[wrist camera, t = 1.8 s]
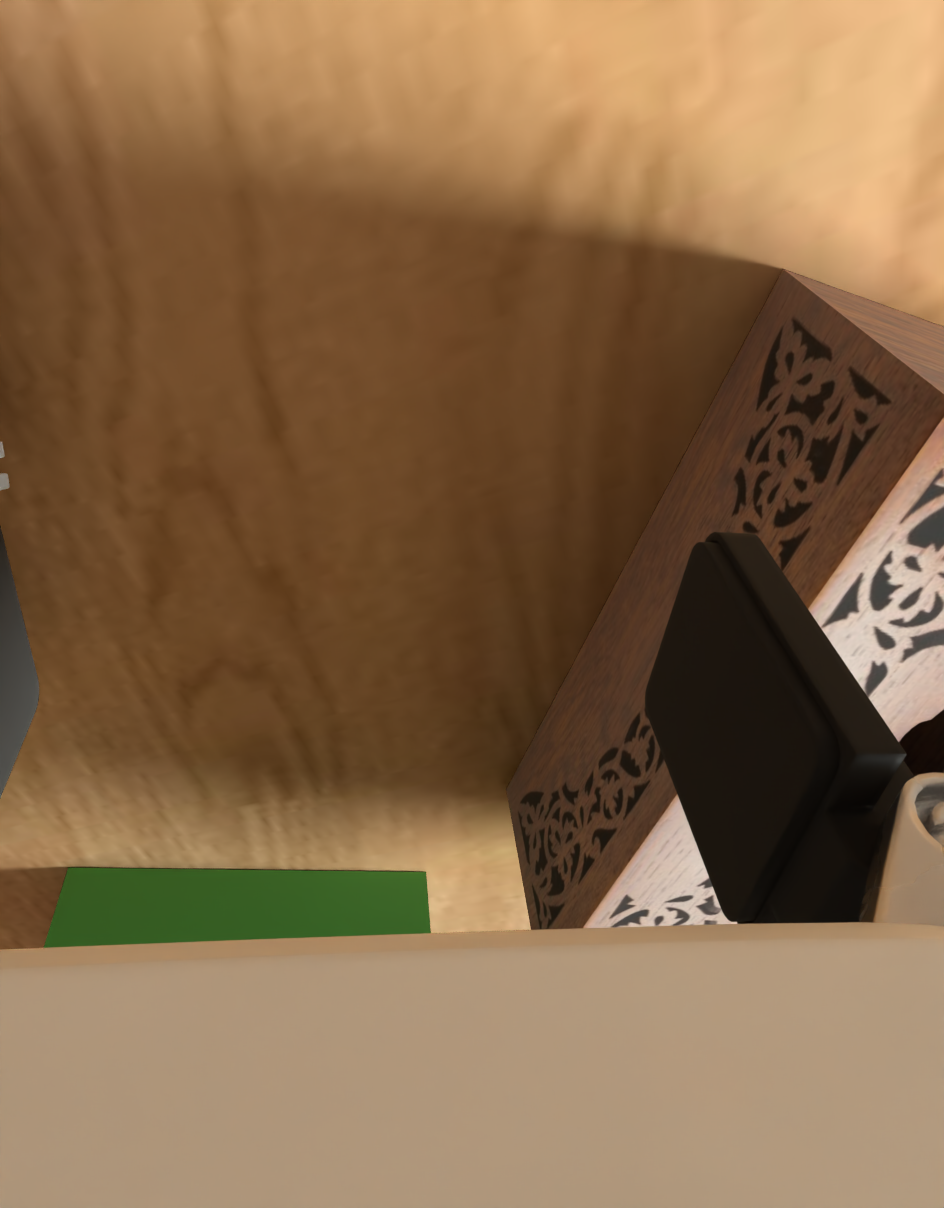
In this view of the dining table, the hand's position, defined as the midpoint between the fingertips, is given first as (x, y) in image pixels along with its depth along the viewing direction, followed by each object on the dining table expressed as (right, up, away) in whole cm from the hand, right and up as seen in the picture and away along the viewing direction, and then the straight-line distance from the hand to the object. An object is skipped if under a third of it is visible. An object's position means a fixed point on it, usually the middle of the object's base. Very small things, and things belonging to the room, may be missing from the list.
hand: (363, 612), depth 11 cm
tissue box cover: (+14, 0, +26) cm, 29 cm away
